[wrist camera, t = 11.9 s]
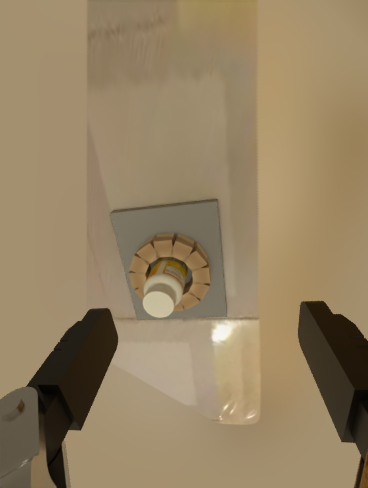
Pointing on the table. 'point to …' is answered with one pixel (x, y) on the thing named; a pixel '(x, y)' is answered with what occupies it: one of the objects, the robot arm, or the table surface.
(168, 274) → the supplement bottle
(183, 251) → the segmented wooden ring
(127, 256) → the gray rectangular board
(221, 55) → the table surface
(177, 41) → the table surface
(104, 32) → the table surface
